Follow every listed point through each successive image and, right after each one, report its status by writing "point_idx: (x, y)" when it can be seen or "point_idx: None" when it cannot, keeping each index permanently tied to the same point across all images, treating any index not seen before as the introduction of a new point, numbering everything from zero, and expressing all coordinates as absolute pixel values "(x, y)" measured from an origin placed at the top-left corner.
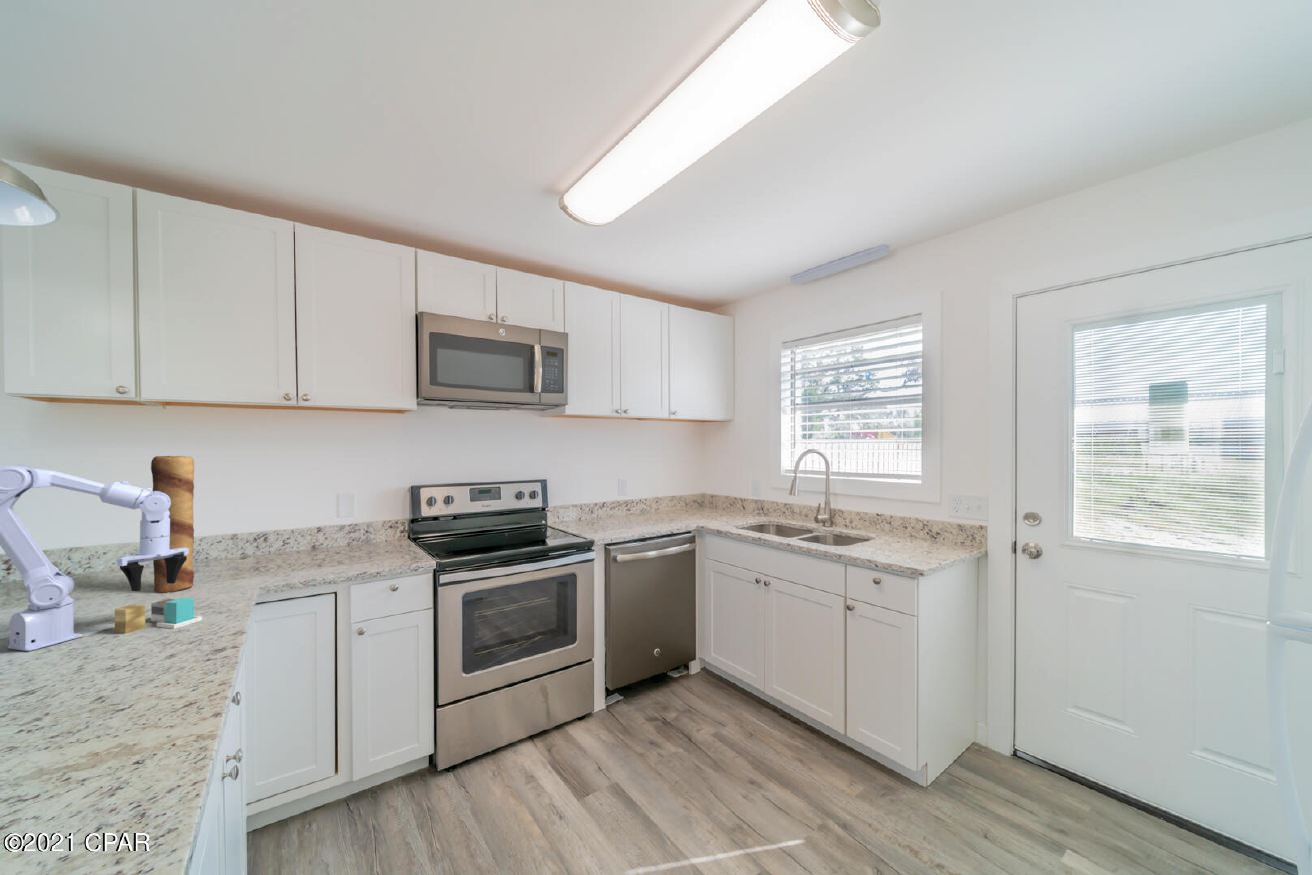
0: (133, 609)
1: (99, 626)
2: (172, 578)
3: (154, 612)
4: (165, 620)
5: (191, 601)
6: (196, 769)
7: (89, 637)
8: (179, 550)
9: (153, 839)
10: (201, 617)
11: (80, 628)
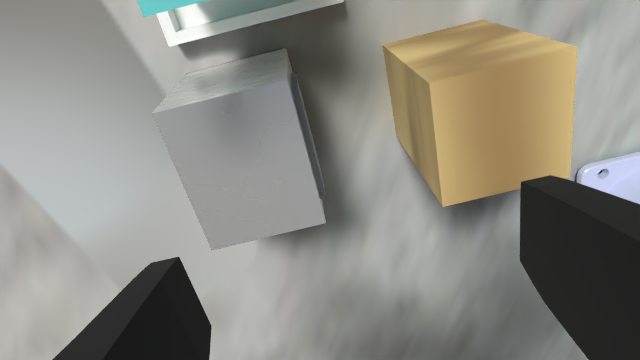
0: (512, 60)
1: (457, 290)
2: (158, 306)
3: (316, 152)
4: (291, 12)
5: None
6: None
7: (573, 129)
8: None
9: None
10: None
11: (498, 320)
